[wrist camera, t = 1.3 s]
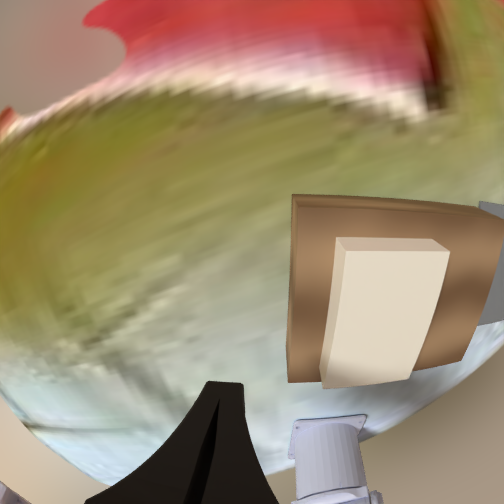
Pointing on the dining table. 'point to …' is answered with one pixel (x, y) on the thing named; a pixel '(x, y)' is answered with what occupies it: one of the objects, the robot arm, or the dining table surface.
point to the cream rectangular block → (379, 308)
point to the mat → (500, 295)
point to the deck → (388, 226)
